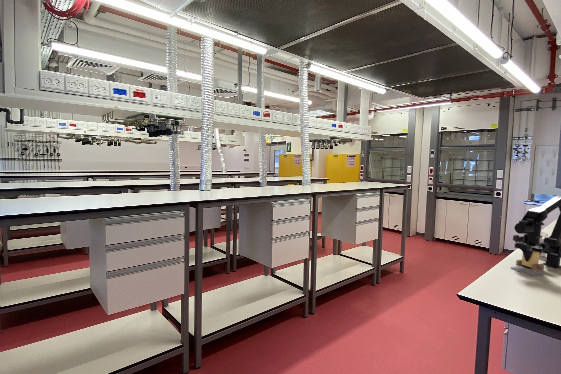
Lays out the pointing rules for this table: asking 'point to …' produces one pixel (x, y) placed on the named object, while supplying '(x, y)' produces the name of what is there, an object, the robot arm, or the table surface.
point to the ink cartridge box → (542, 241)
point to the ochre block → (531, 259)
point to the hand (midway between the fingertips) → (530, 261)
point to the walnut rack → (534, 266)
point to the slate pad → (527, 271)
